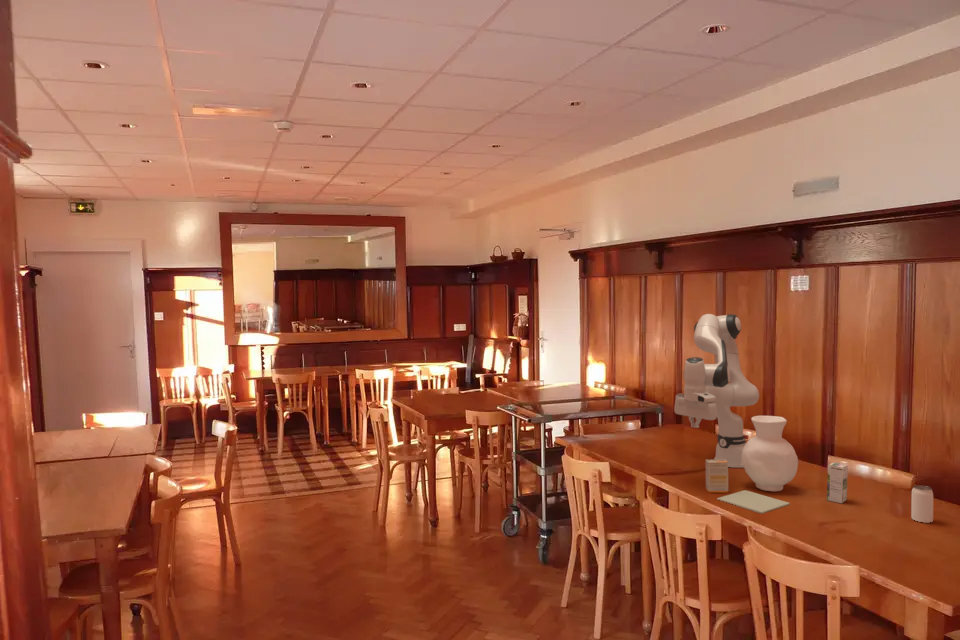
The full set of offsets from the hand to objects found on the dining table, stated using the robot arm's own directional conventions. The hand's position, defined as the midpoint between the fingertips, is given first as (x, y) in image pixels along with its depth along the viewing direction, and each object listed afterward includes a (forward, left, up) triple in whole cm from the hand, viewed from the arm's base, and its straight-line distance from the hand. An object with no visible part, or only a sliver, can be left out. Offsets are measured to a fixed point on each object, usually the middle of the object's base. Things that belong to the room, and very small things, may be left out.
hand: (695, 427), depth 279 cm
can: (-31, +75, -25) cm, 85 cm away
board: (0, +28, -25) cm, 38 cm away
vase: (-21, +21, -25) cm, 39 cm away
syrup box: (-28, +46, -25) cm, 60 cm away
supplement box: (0, +11, -25) cm, 28 cm away
